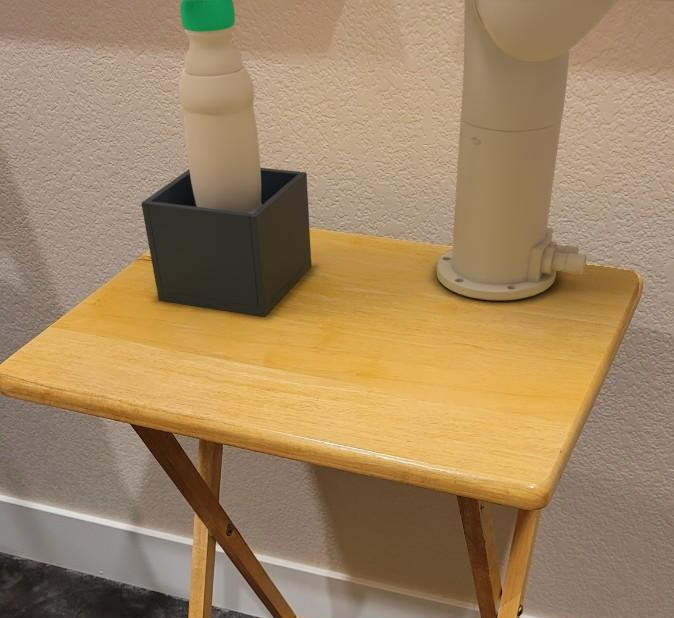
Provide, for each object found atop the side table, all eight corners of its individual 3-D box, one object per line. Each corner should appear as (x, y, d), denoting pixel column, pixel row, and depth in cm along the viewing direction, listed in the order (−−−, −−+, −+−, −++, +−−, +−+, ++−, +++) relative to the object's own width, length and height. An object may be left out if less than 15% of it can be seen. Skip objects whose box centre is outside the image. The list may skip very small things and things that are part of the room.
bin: (311, 267, 98) (306, 172, 91) (265, 317, 89) (256, 216, 82) (212, 253, 101) (199, 161, 94) (158, 300, 93) (140, 202, 86)
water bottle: (259, 290, 91) (232, 5, 74) (195, 286, 93) (153, 4, 75) (276, 262, 96) (255, -12, 79) (215, 258, 98) (180, -13, 80)
